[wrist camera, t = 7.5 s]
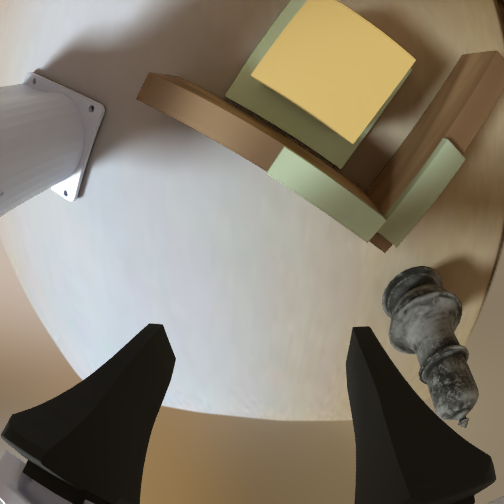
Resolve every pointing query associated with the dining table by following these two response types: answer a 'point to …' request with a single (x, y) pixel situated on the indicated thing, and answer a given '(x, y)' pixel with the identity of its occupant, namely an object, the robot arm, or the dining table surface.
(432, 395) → the grey stone finial
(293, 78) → the ochre block
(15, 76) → the dining table surface
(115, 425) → the robot arm
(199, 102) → the walnut walls
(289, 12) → the sage pad
